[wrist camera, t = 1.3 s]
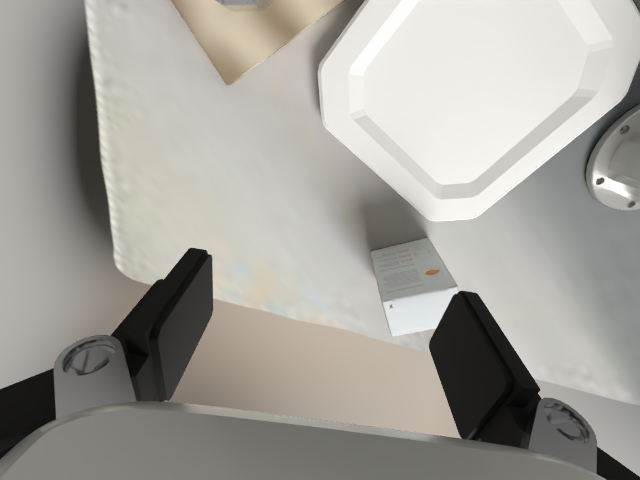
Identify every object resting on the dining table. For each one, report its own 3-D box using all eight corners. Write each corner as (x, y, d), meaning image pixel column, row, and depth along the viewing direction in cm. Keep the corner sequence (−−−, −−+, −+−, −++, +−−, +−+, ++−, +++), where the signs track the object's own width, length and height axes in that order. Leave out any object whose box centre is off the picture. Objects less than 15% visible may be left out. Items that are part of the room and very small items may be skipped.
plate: (500, -189, 22) (517, -214, 20) (648, 63, 29) (671, 63, 27) (295, 98, 32) (293, 100, 30) (444, 232, 39) (450, 240, 37)
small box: (377, 281, 43) (389, 338, 34) (369, 250, 40) (380, 302, 31) (433, 269, 41) (462, 325, 32) (429, 235, 39) (459, 286, 30)
